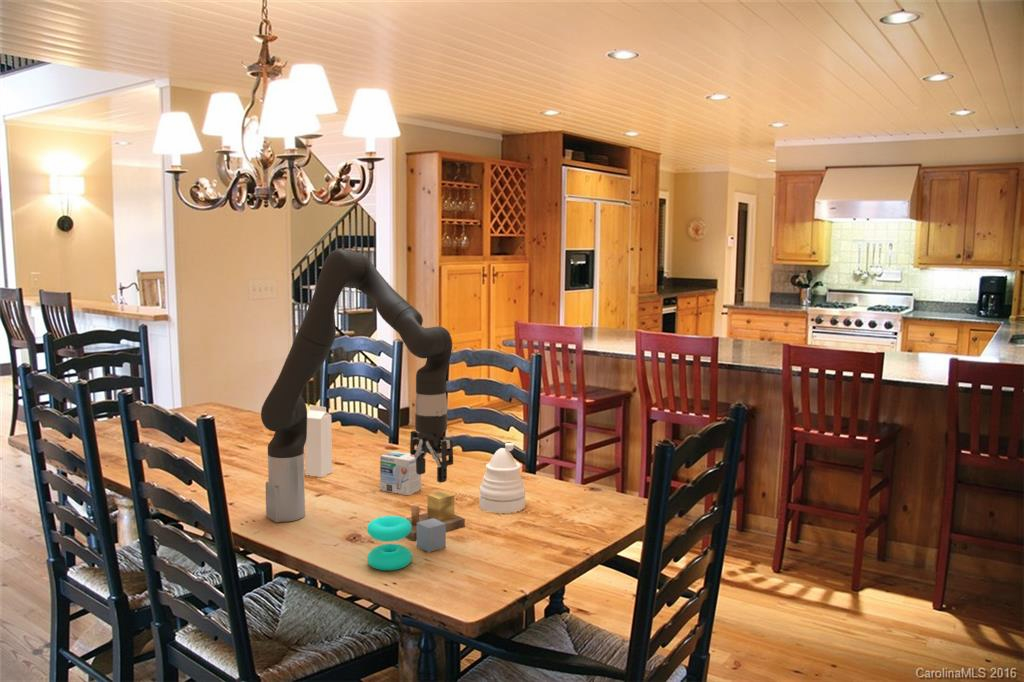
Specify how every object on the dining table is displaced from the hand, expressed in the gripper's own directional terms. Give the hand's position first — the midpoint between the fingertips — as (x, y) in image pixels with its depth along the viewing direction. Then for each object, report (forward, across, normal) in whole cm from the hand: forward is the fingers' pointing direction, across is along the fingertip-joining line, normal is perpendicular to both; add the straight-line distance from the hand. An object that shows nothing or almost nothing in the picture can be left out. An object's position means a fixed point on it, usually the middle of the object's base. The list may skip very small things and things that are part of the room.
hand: (431, 477), depth 187 cm
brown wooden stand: (+17, -11, +7) cm, 22 cm away
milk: (+17, -72, +8) cm, 74 cm away
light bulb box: (+17, -42, +19) cm, 49 cm away
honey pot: (+18, -12, +33) cm, 39 cm away
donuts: (+18, +2, -13) cm, 22 cm away
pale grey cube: (+17, 0, 0) cm, 17 cm away
